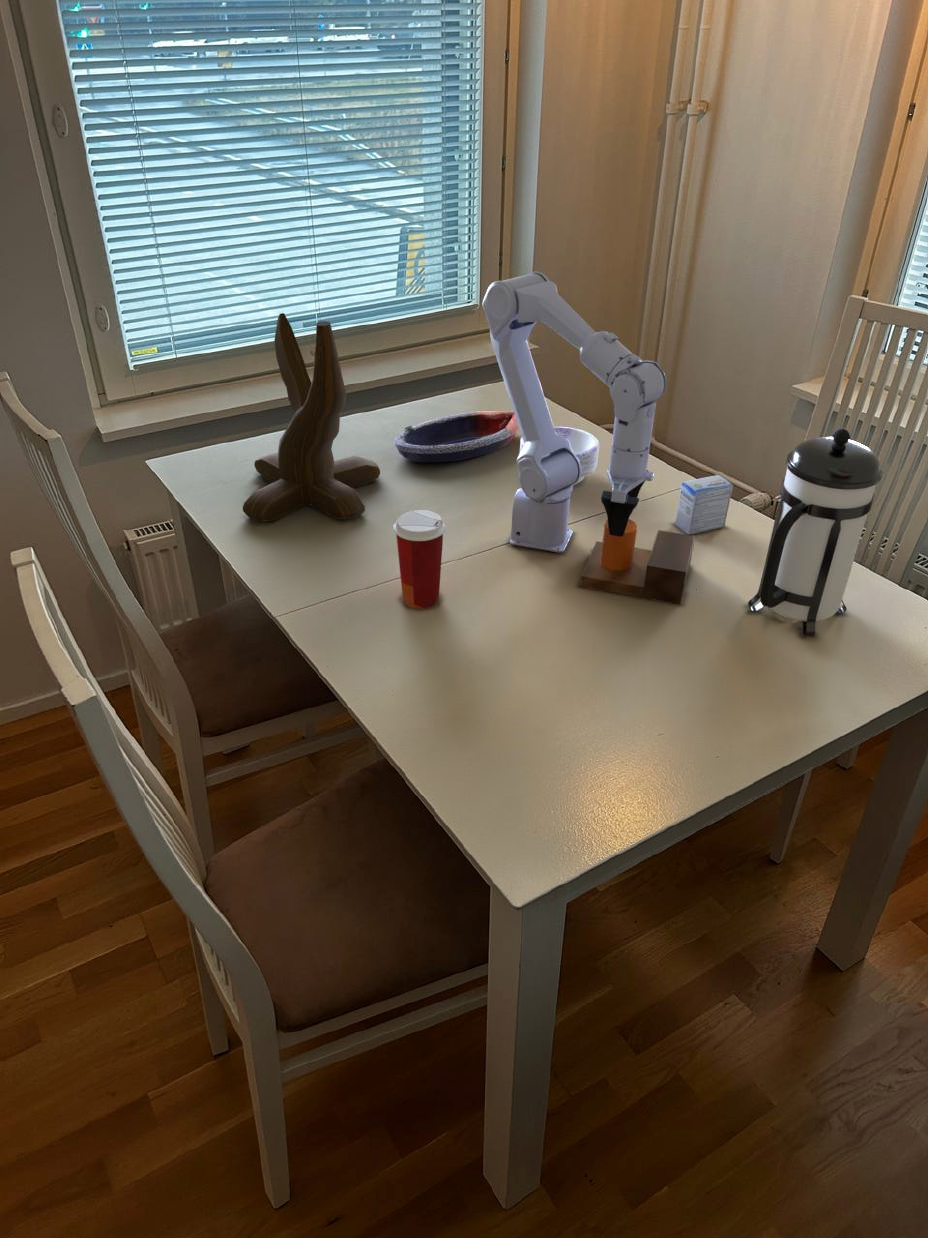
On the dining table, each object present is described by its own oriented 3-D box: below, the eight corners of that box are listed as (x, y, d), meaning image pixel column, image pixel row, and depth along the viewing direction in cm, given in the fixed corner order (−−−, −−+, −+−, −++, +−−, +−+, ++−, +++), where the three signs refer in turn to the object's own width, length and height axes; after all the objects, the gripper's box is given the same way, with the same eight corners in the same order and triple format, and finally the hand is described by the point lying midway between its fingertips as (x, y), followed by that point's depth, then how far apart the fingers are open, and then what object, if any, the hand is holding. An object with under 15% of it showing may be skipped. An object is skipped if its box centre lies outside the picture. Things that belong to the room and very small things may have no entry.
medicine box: (710, 517, 168) (718, 473, 163) (725, 527, 164) (734, 484, 160) (674, 524, 165) (681, 481, 160) (688, 536, 162) (696, 491, 157)
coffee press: (733, 581, 149) (770, 405, 132) (834, 588, 148) (884, 411, 131) (749, 644, 135) (793, 456, 118) (861, 651, 134) (921, 462, 117)
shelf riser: (580, 586, 148) (583, 554, 144) (595, 551, 157) (598, 520, 154) (680, 604, 144) (686, 572, 140) (689, 567, 153) (695, 535, 150)
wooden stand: (414, 503, 171) (410, 312, 151) (271, 545, 157) (246, 342, 137) (341, 449, 190) (329, 274, 171) (208, 482, 177) (178, 297, 157)
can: (629, 573, 147) (634, 535, 143) (597, 567, 149) (601, 529, 145) (634, 557, 151) (639, 520, 148) (603, 552, 153) (607, 515, 149)
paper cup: (452, 591, 146) (452, 513, 138) (435, 616, 140) (434, 536, 132) (406, 582, 148) (404, 504, 140) (387, 607, 142) (384, 527, 134)
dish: (379, 449, 191) (378, 426, 188) (503, 421, 204) (504, 399, 201) (415, 477, 180) (414, 453, 177) (543, 446, 193) (545, 423, 190)
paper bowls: (565, 455, 189) (568, 418, 185) (611, 483, 179) (615, 445, 174) (503, 470, 183) (505, 433, 178) (547, 501, 172) (550, 462, 168)
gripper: (649, 467, 132) (638, 549, 139) (664, 429, 143) (652, 507, 151) (601, 460, 134) (592, 541, 141) (619, 423, 145) (610, 500, 153)
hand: (620, 523), depth 146 cm, fingers open, 7 cm apart
